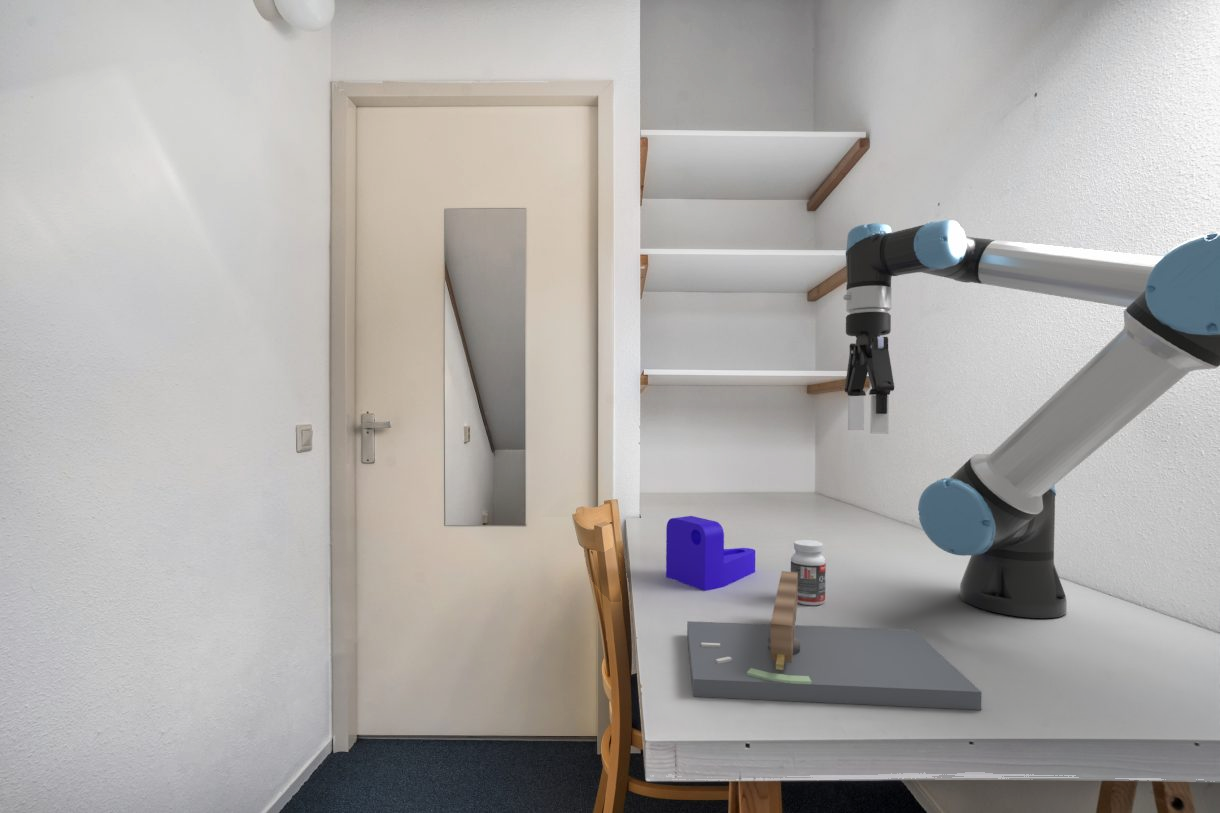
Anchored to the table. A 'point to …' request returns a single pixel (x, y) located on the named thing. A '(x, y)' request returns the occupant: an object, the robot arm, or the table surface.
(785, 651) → the brown wooden bar
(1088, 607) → the table surface
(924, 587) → the table surface
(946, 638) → the table surface
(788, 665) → the plate
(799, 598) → the pill bottle
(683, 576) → the bracket
